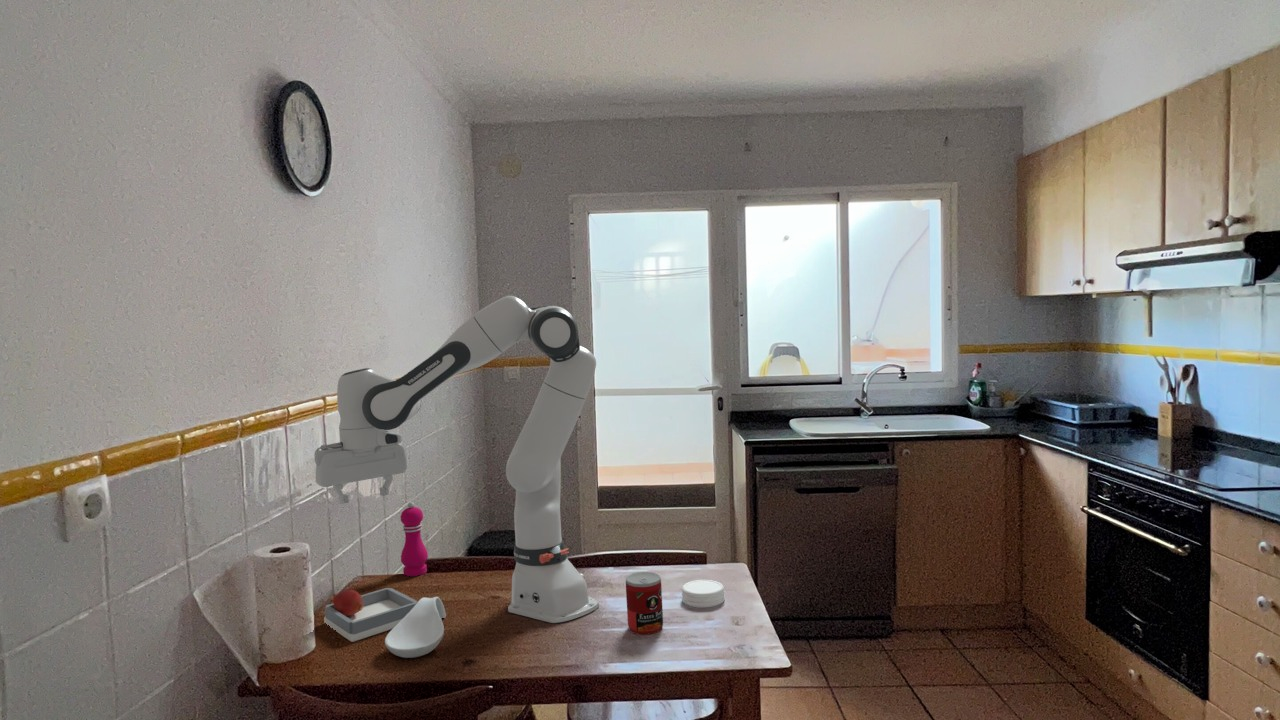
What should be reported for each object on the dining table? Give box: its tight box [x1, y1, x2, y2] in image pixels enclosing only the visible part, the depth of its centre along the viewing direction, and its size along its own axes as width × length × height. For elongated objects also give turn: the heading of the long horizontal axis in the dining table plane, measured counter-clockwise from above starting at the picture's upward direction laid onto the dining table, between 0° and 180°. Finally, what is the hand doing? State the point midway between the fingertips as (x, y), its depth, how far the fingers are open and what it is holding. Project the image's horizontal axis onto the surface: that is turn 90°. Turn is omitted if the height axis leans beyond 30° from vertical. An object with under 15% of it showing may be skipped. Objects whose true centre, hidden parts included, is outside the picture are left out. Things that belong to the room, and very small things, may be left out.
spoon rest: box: [384, 596, 447, 659], centre depth 155 cm, size 24×12×7 cm, turn 4°
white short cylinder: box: [681, 579, 726, 609], centre depth 170 cm, size 10×10×4 cm
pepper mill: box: [400, 501, 429, 577], centre depth 201 cm, size 7×7×20 cm
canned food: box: [625, 571, 664, 636], centre depth 156 cm, size 8×8×11 cm
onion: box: [329, 589, 363, 617], centre depth 167 cm, size 6×6×8 cm
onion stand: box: [323, 587, 419, 643], centre depth 167 cm, size 16×16×4 cm
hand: (364, 499), depth 166 cm, fingers open, 8 cm apart
